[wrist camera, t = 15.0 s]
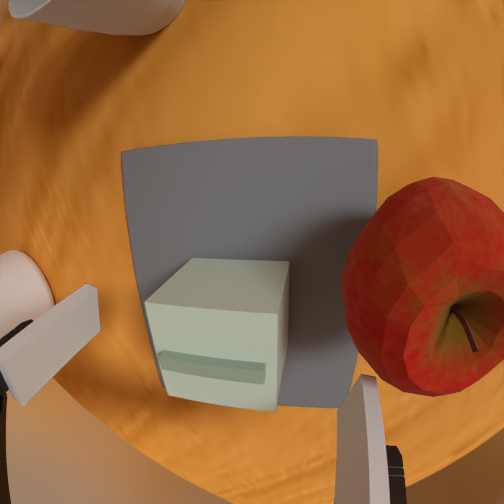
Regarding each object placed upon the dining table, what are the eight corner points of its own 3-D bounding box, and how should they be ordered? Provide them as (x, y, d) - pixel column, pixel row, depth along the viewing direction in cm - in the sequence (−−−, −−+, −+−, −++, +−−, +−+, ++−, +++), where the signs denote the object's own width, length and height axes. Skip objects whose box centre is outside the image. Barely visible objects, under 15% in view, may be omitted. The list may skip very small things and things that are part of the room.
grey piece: (124, 151, 18) (70, 156, 13) (375, 140, 15) (404, 134, 10) (164, 384, 24) (138, 425, 19) (344, 404, 21) (346, 456, 16)
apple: (353, 152, 15) (422, 149, 5) (472, 197, 14) (592, 250, 4) (315, 287, 18) (311, 424, 8) (427, 315, 17) (487, 433, 7)
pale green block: (192, 257, 18) (137, 308, 12) (289, 261, 17) (275, 321, 11) (202, 337, 20) (163, 402, 14) (287, 345, 19) (274, 420, 13)
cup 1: (9, 229, 23) (-62, 260, 14) (65, 280, 23) (-14, 332, 14) (9, 297, 27) (-46, 333, 17) (59, 346, 27) (4, 396, 17)
